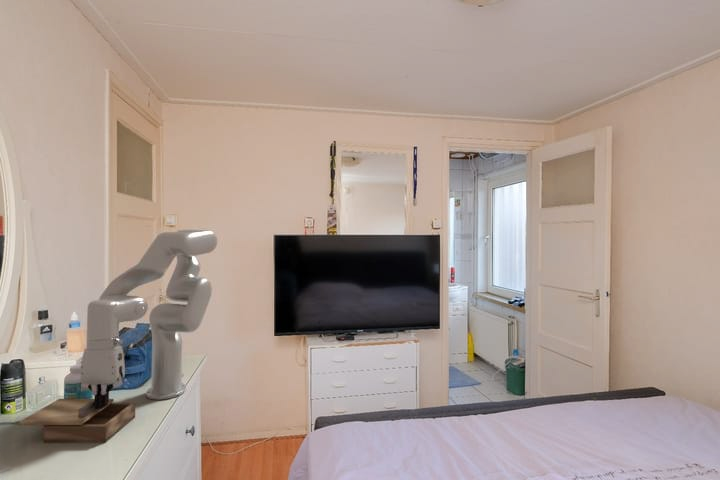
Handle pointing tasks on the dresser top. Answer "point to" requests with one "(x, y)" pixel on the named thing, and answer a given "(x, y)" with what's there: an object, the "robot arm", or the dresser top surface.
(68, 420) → the lid
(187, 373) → the dresser top surface
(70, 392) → the pill bottle
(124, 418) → the box
